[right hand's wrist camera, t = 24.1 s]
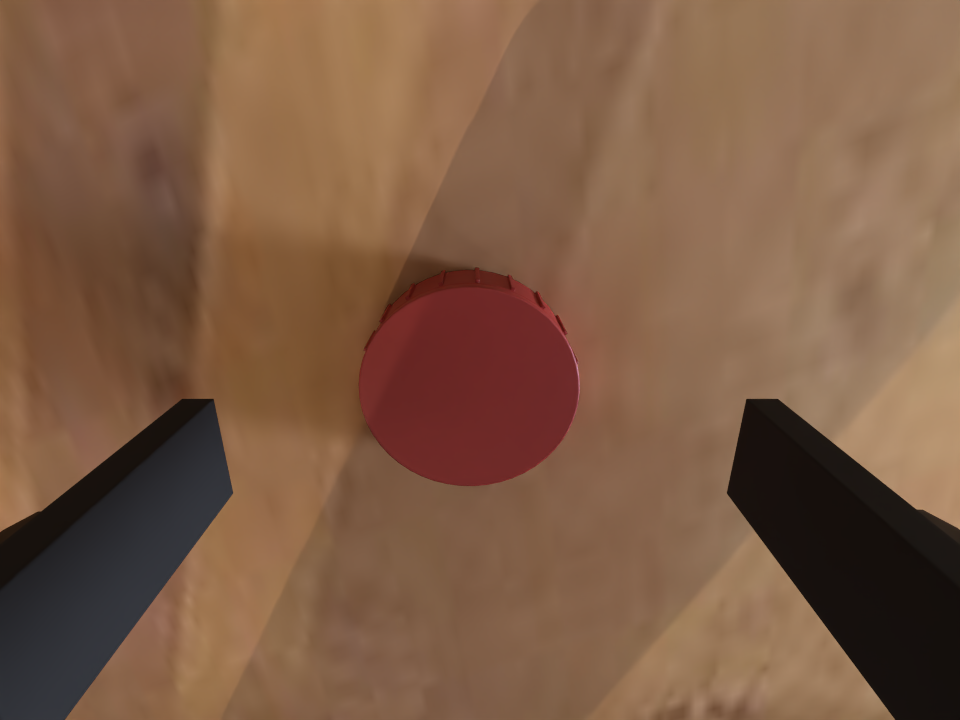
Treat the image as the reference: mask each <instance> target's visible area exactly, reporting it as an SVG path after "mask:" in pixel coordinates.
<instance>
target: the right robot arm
mask: <svg viewBox="0 0 960 720" xmlns="http://www.w3.org/2000/svg"><path fill="white" fill-rule="evenodd" d="M232 494H233V490H232V486H231V481H230V476H229V471H228V466H227V462H226V457H225V452H224V447H223V442H222V437H221V433H220V428H219V423H218V418H217V413H216V409H215V404H214V399H182V400H180V401H179V402H178V403H177V404H175V405H174V406H173V407H172V408H170V409H169V410H168V411H167V412H165V413H164V414H163V415H162V416H160V417H159V418H158V419H157V420H155V421H154V422H153V423H152V424H150V425H149V426H148V427H147V428H145V429H144V430H143V431H142V432H140V433H139V434H138V435H137V436H135V437H134V438H133V439H132V440H130V441H129V442H128V443H126V444H125V445H124V446H123V447H121V448H120V449H119V450H118V451H116V452H115V453H114V454H113V455H111V456H110V457H109V458H108V459H106V460H105V461H104V462H103V463H101V464H100V465H99V466H98V467H96V468H95V469H94V470H93V471H91V472H90V473H89V474H88V475H86V476H85V477H84V478H83V479H81V480H80V481H79V482H78V483H76V484H75V485H74V486H73V487H71V488H70V489H69V490H68V491H66V492H65V493H64V494H63V495H61V496H60V497H59V498H58V499H56V500H55V501H54V502H53V503H51V504H50V505H49V506H48V507H46V508H45V509H44V510H43V511H41V512H36V513H34V514H33V515H31V516H29V517H27V518H25V519H23V520H21V521H19V522H17V523H16V524H14V525H12V526H10V527H8V528H6V529H4V530H3V531H1V532H0V720H65V719H66V717H67V716H68V715H69V713H70V712H71V710H72V709H73V708H74V706H75V705H76V704H77V702H78V701H79V700H80V698H81V697H82V696H83V694H84V693H85V692H86V690H87V689H88V688H89V686H90V685H91V684H92V682H93V681H94V680H95V678H96V677H97V676H98V674H99V673H100V672H101V670H102V669H103V667H104V666H105V665H106V663H107V662H108V661H109V659H110V658H111V657H112V655H113V654H114V653H115V651H116V650H117V649H118V647H119V646H120V645H121V643H122V642H123V641H124V639H125V638H126V637H127V635H128V634H129V633H130V631H131V630H132V628H133V627H134V626H135V624H136V623H137V622H138V620H139V619H140V618H141V616H142V615H143V614H144V612H145V611H146V610H147V608H148V607H149V606H150V604H151V603H152V602H153V600H154V599H155V598H156V596H157V595H158V594H159V592H160V591H161V590H162V588H163V587H164V585H165V584H166V583H167V581H168V580H169V579H170V577H171V576H172V575H173V573H174V572H175V571H176V569H177V568H178V567H179V565H180V564H181V563H182V561H183V560H184V559H185V557H186V556H187V555H188V553H189V552H190V551H191V549H192V548H193V546H194V545H195V544H196V542H197V541H198V540H199V538H200V537H201V536H202V534H203V533H204V532H205V530H206V529H207V528H208V526H209V525H210V524H211V522H212V521H213V520H214V518H215V517H216V516H217V514H218V513H219V512H220V510H221V509H222V508H223V506H224V505H225V503H226V502H227V501H228V499H229V498H230V497H231V495H232ZM727 494H728V495H729V497H730V498H731V499H732V501H733V502H734V503H735V505H736V506H737V507H738V509H739V510H740V512H741V513H742V514H743V516H744V517H745V518H746V520H747V521H748V522H749V524H750V525H751V526H752V528H753V529H754V530H755V532H756V533H757V534H758V536H759V537H760V538H761V540H762V541H763V542H764V544H765V545H766V546H767V548H768V549H769V551H770V552H771V553H772V555H773V556H774V557H775V559H776V560H777V561H778V563H779V564H780V565H781V567H782V568H783V569H784V571H785V572H786V573H787V575H788V576H789V577H790V579H791V580H792V581H793V583H794V584H795V585H796V587H797V588H798V590H799V591H800V592H801V594H802V595H803V596H804V598H805V599H806V600H807V602H808V603H809V604H810V606H811V607H812V608H813V610H814V611H815V612H816V614H817V615H818V616H819V618H820V619H821V620H822V622H823V623H824V624H825V626H826V627H827V628H828V630H829V631H830V633H831V634H832V635H833V637H834V638H835V639H836V641H837V642H838V643H839V645H840V646H841V647H842V649H843V650H844V651H845V653H846V654H847V655H848V657H849V658H850V659H851V661H852V662H853V663H854V665H855V666H856V667H857V669H858V670H859V672H860V673H861V674H862V676H863V677H864V678H865V680H866V681H867V682H868V684H869V685H870V686H871V688H872V689H873V690H874V692H875V693H876V694H877V696H878V697H879V698H880V700H881V701H882V702H883V704H884V705H885V706H886V708H887V709H888V710H889V712H890V713H891V715H892V716H893V717H894V719H895V720H960V530H959V529H958V528H956V527H954V526H952V525H951V524H949V523H947V522H945V521H943V520H941V519H939V518H937V517H935V516H933V515H932V514H930V513H928V512H926V511H924V510H916V509H915V508H914V507H912V506H911V505H910V504H909V503H907V502H906V501H905V500H904V499H902V498H901V497H900V496H899V495H897V494H896V493H895V492H894V491H892V490H891V489H890V488H889V487H887V486H886V485H885V484H884V483H882V482H881V481H880V480H879V479H877V478H876V477H875V476H874V475H872V474H871V473H870V472H869V471H867V470H866V469H865V468H864V467H862V466H861V465H860V464H859V463H857V462H856V461H855V460H854V459H852V458H851V457H850V456H849V455H847V454H846V453H845V452H844V451H842V450H841V449H840V448H839V447H837V446H836V445H835V444H834V443H832V442H831V441H830V440H828V439H827V438H826V437H825V436H823V435H822V434H821V433H820V432H818V431H817V430H816V429H815V428H813V427H812V426H811V425H810V424H808V423H807V422H806V421H805V420H803V419H802V418H801V417H800V416H798V415H797V414H796V413H795V412H793V411H792V410H791V409H790V408H788V407H787V406H786V405H785V404H783V403H782V402H781V401H780V400H778V399H746V404H745V409H744V413H743V418H742V423H741V428H740V433H739V437H738V442H737V447H736V452H735V457H734V462H733V466H732V471H731V476H730V481H729V486H728V490H727Z"/></svg>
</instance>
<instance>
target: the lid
mask: <svg viewBox="0 0 960 720" xmlns="http://www.w3.org/2000/svg"><path fill="white" fill-rule="evenodd" d="M379 322H381V323H380V325H379V326H378V328H377V330H376V331H375V330H374V332H373V333H372V335H371V337H370V339H369V341H368V342H367V344H366V346H365V348H364V351H366V352H365V354H364V357H363V360H362V364H361V369H360V376H359V397H360V402H361V407H362V411H363V414H364V417H365V420H366V422H367V424H368V426H369V428H370V430H371V432H372V434H373V435H374V437H375V438H376V440H377V441H378V443H379V444H380V445H381V446H382V447H383V449H384V450H385V451H386V452H387V453H388V454H389V455H390V456H391V457H392V458H394V459H395V460H396V461H397V462H398V463H400V464H401V465H403V466H404V467H406V468H407V469H409V470H410V471H412V472H414V473H416V474H418V475H420V476H423V477H425V478H428V479H431V480H434V481H437V482H441V483H445V484H452V485H459V486H479V485H488V484H493V483H498V482H502V481H505V480H508V479H511V478H514V477H516V476H518V475H521V474H523V473H525V472H527V471H528V470H530V469H532V468H533V467H535V466H536V465H538V464H539V463H540V462H542V461H543V460H544V459H546V458H547V457H548V456H549V455H550V454H551V453H552V452H553V451H554V450H555V449H556V447H557V446H558V445H559V444H560V442H561V441H562V440H563V438H564V437H565V435H566V433H567V432H568V430H569V428H570V426H571V424H572V421H573V419H574V416H575V413H576V409H577V406H578V400H579V392H580V385H579V373H578V367H577V364H578V361H577V359H576V356H575V354H574V352H573V350H572V348H571V346H570V344H569V343H568V341H567V339H566V336H565V335H566V334H567V332H566V330H565V328H564V326H563V324H562V322H561V320H560V318H559V316H558V315H557V316H555V315H554V314H553V312H552V311H551V309H550V308H549V307H548V305H547V304H546V303H545V302H544V301H543V300H542V298H541V296H540V293H539V292H536V293H534V292H533V291H532V290H530V289H529V288H527V287H526V286H524V285H523V284H521V283H519V282H517V281H515V280H513V279H512V276H511V275H508V277H506V276H503V275H499V274H496V273H492V272H486V271H480V270H479V268H475V270H461V271H452V272H447V273H446V272H445V270H444V271H441V274H439V275H436V276H434V277H431V278H428V279H426V280H424V281H422V282H420V283H418V284H416V285H415V283H413V284H411V286H410V288H409V290H408V291H406V292H405V293H404V294H403V295H401V296H400V297H399V298H398V299H397V300H396V301H395V302H394V303H393V305H391V304H389V305H388V306H387V308H386V310H385V312H384V314H383V315H382V317H381V319H380V321H379Z"/></svg>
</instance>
